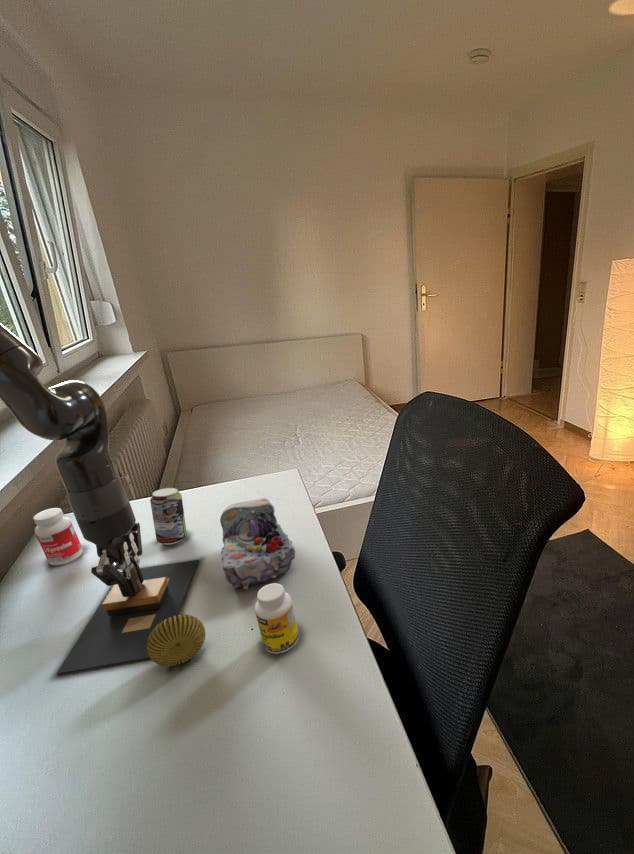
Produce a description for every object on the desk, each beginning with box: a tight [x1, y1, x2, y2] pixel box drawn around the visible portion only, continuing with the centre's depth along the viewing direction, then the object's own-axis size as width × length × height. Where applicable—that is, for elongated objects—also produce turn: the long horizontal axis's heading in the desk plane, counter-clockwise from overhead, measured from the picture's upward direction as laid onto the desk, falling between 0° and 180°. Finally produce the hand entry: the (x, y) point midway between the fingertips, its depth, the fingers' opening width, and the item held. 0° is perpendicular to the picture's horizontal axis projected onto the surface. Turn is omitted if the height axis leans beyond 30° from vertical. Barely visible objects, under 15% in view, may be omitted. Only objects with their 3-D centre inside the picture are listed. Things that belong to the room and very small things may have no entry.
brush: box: [102, 563, 169, 616], centre depth 78 cm, size 9×5×8 cm, turn 100°
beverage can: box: [149, 487, 188, 546], centre depth 97 cm, size 6×7×12 cm
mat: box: [56, 559, 200, 676], centre depth 79 cm, size 15×24×1 cm, turn 10°
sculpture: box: [147, 614, 207, 667], centre depth 67 cm, size 8×4×8 cm, turn 121°
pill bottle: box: [32, 507, 84, 566], centre depth 93 cm, size 6×6×11 cm
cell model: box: [219, 497, 296, 590], centre depth 88 cm, size 13×11×20 cm
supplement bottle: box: [254, 582, 299, 654], centre depth 69 cm, size 6×6×10 cm
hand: (133, 588), depth 78 cm, fingers closed on brush, 2 cm apart
